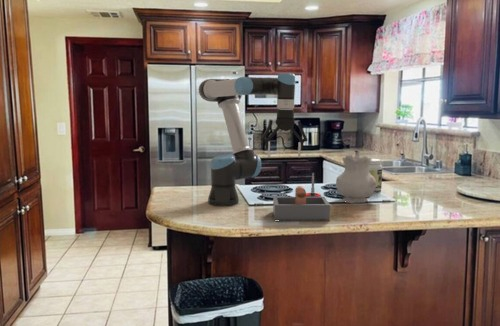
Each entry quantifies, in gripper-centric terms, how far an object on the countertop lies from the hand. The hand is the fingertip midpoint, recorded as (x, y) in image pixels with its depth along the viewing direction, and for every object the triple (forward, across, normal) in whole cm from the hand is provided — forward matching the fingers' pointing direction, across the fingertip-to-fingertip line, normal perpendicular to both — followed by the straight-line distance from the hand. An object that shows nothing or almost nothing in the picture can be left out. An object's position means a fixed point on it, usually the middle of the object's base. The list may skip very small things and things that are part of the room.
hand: (283, 156), depth 191 cm
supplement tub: (+26, +52, +43) cm, 72 cm away
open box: (+25, +7, -10) cm, 28 cm away
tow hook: (+26, +18, +28) cm, 43 cm away
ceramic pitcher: (+25, +38, +19) cm, 49 cm away
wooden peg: (+24, +7, -10) cm, 27 cm away
